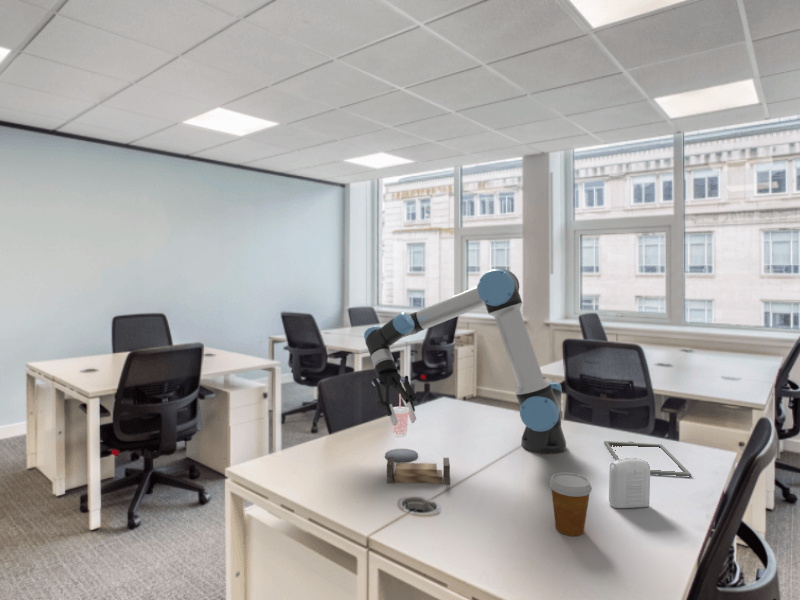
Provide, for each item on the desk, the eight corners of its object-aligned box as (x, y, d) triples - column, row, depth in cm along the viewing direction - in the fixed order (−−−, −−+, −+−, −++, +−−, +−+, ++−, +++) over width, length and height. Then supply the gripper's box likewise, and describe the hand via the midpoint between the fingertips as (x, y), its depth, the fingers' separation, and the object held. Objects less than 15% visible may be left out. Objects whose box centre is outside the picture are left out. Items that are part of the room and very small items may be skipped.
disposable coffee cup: (542, 520, 121) (543, 472, 120) (580, 518, 121) (580, 471, 121) (558, 541, 111) (558, 488, 111) (598, 539, 112) (599, 487, 111)
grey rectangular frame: (622, 469, 150) (602, 438, 180) (622, 474, 150) (602, 442, 180) (691, 474, 147) (659, 441, 176) (691, 479, 147) (659, 446, 176)
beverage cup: (391, 432, 168) (391, 391, 167) (409, 432, 168) (409, 391, 167) (390, 438, 162) (390, 396, 161) (408, 438, 162) (409, 396, 161)
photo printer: (642, 500, 132) (642, 454, 131) (652, 507, 127) (653, 460, 127) (606, 502, 130) (606, 456, 130) (615, 510, 126) (616, 462, 125)
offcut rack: (448, 475, 148) (448, 457, 148) (449, 484, 142) (449, 465, 142) (388, 474, 149) (388, 456, 149) (386, 483, 143) (386, 464, 143)
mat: (424, 454, 166) (424, 453, 166) (404, 464, 157) (404, 462, 157) (398, 448, 172) (398, 446, 172) (378, 457, 164) (378, 455, 164)
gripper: (405, 368, 182) (426, 424, 168) (356, 373, 173) (374, 432, 159) (411, 356, 177) (434, 412, 163) (362, 360, 168) (381, 420, 154)
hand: (404, 422), depth 161 cm, fingers closed on beverage cup, 6 cm apart
